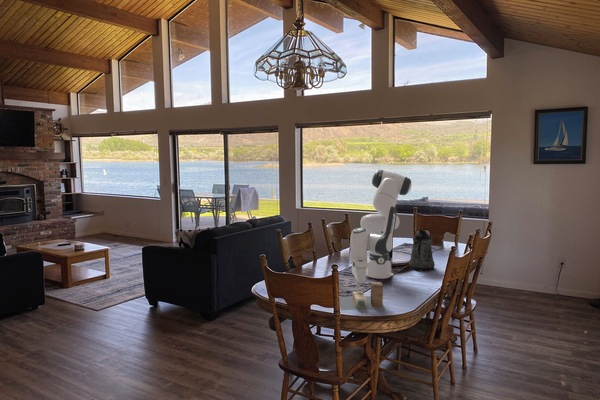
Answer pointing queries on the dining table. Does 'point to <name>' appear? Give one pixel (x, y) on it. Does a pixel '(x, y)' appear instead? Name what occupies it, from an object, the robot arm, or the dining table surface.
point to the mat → (348, 304)
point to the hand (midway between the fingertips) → (357, 286)
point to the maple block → (359, 299)
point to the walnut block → (376, 294)
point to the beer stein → (421, 253)
